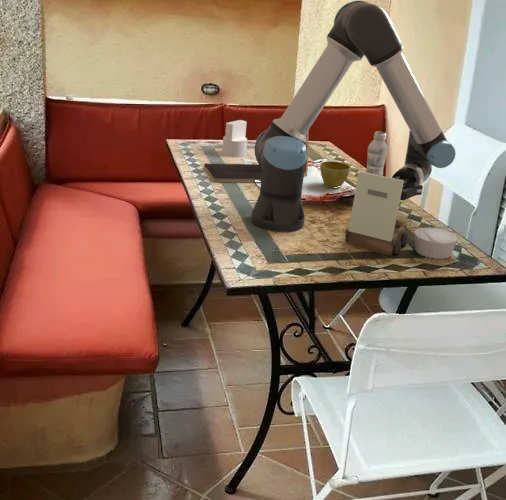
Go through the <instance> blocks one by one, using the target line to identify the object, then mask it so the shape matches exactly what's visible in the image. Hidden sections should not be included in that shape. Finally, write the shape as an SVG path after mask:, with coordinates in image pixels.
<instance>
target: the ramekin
mask: <svg viewBox="0 0 506 500" xmlns="http://www.w3.org/2000/svg"><path fill="white" fill-rule="evenodd" d="M413 237H414V249H415V250H414V251H416V253H417V254H419V255H420V256H422V257H424V256H425V257H424V258H427V257H429V258H428V259H431V258H434V259H433V260H445V258H446V259H448V258H449V257H451V255H452V254H453V251H454V249H455V246H456V244H457V243H458V237H457V236H456V235H455V234H454V233H453V232H451V231H448V230H445V229H441V228H435V227H421V228H417V229H415V230H414V232H413Z"/></svg>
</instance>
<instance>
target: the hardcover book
mask: <svg viewBox="0 0 506 500" xmlns="http://www.w3.org/2000/svg"><path fill="white" fill-rule="evenodd" d="M203 169H205V170H206V172H207V173H208V175H209V176H210V178H211V179H212V181H213V182H214V183H256V182H255V180H259V181H261V176H262V169H261V167H260V165H259V163H258V164H257V163H252V164H251V163H204V165H203Z"/></svg>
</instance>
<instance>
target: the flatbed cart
mask: <svg viewBox="0 0 506 500" xmlns="http://www.w3.org/2000/svg"><path fill="white" fill-rule="evenodd" d="M348 230H349V228H346V229H345V232H344V234H345V237H344V238H345V239H344V240H345V241H346V242H347V246H351V247H355V248H358V249H363V250H367V251H370V252H375V253H378V254H382V255H385V256H390V257H392V255H393V254H395V255H399V254H400V251H401V247H402V246H403V247H406V245H407V243H408V239H409V233H408V232H406V230H407V224H403V223H398V222H396V223H395V228H394V233H393V238H392V241H391V242H390V241H386V240H382V239H378V238H374V237H370V236H366V235H362V234H358V233H354V232H351V231H348Z"/></svg>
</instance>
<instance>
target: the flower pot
mask: <svg viewBox="0 0 506 500" xmlns="http://www.w3.org/2000/svg"><path fill="white" fill-rule="evenodd" d="M319 164H320V165H319V166H320V167H319V168H320V174H321V178H322V181H323V183H324V185H326V186H325V187H327V186H328V187H327V188H329V187H338V186H341V185H342V186H343V184H344V183H345V181H346V180H347V178H348V175H349V173H350V171H351V169H352V167H351V166H350V165H349V164H347V163H344V162H339V161H335V160H334V161H332V160H331V161H330V160H329V161H327V160H326V161H322V162H320V163H319ZM342 186H341V187H342Z"/></svg>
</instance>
